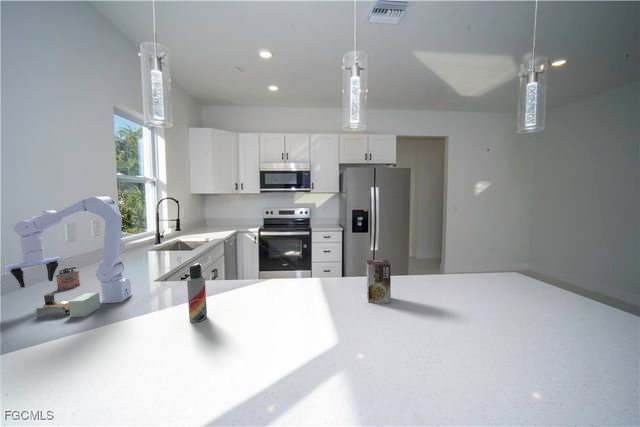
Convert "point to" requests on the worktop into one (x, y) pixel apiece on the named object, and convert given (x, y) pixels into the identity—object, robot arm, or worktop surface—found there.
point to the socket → (84, 304)
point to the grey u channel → (52, 312)
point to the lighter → (67, 278)
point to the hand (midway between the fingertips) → (37, 283)
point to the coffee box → (378, 281)
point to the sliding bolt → (51, 302)
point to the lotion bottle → (196, 294)
